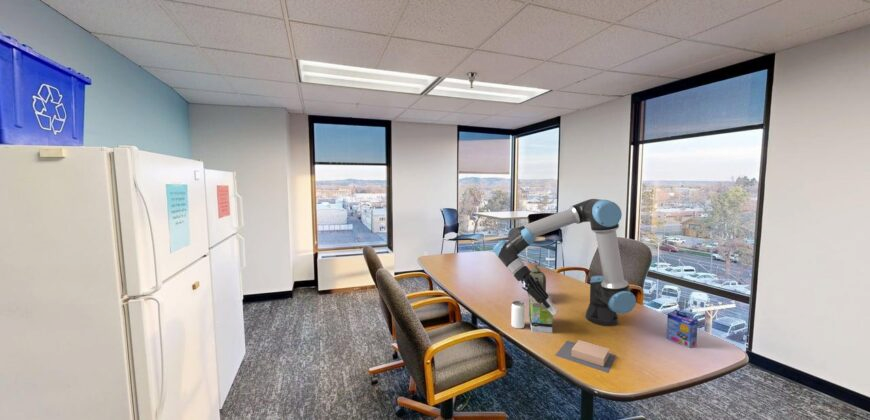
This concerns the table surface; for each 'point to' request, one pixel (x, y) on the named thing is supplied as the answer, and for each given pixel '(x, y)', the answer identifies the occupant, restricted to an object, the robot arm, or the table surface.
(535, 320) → the tea box
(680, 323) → the ink cartridge box
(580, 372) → the table surface
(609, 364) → the mat
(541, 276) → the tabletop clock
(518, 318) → the can
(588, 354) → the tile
